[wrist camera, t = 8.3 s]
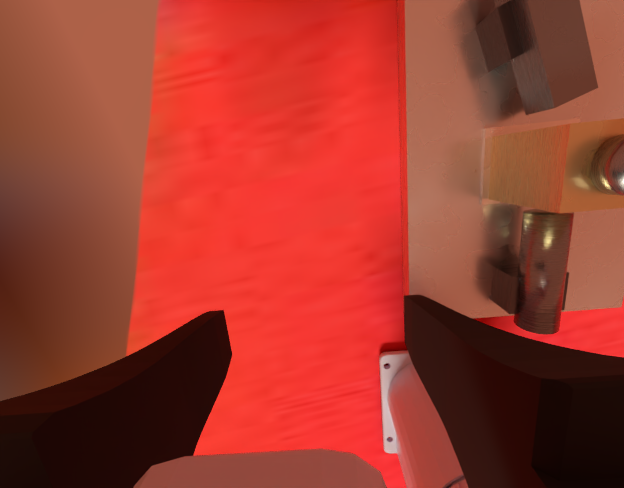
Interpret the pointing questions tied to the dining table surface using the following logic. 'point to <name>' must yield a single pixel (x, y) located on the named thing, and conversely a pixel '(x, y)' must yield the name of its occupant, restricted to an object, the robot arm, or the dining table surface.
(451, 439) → the robot arm
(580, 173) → the tan block with knob
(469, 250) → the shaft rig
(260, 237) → the dining table surface
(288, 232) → the dining table surface
